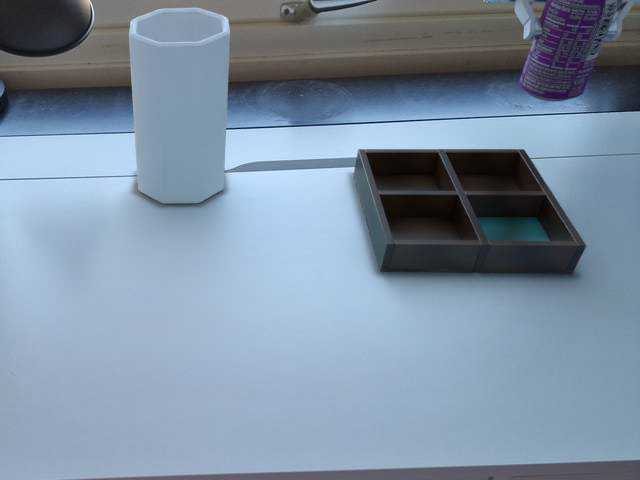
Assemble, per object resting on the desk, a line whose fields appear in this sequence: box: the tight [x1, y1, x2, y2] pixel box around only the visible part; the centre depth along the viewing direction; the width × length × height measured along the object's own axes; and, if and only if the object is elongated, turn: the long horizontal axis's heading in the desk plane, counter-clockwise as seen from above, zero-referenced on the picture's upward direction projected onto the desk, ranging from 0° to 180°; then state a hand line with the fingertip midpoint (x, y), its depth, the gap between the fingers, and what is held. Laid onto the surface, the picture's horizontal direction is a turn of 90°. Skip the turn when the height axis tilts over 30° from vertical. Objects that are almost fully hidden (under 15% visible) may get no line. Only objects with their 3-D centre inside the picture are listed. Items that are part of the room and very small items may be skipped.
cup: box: [128, 7, 231, 205], centre depth 79 cm, size 11×11×18 cm
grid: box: [353, 148, 587, 275], centre depth 77 cm, size 19×19×4 cm
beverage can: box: [518, 0, 618, 102], centre depth 79 cm, size 7×7×12 cm
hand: (571, 37), depth 78 cm, fingers closed on beverage can, 7 cm apart
